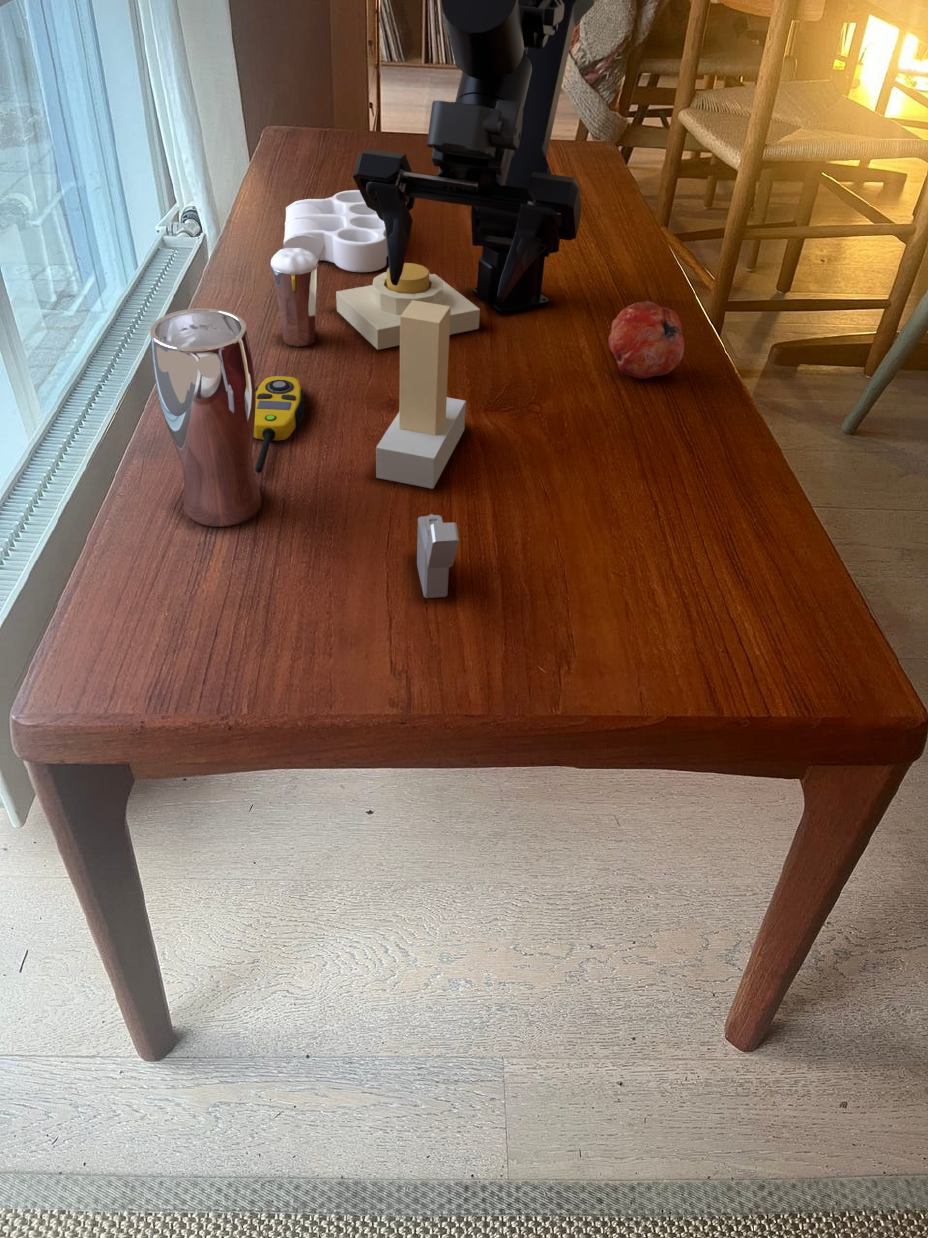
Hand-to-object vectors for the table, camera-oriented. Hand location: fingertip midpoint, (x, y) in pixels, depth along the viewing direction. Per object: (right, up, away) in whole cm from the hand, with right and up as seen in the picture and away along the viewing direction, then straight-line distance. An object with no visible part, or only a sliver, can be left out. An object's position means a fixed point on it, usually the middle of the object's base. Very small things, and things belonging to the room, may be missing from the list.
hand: (446, 291), depth 81 cm
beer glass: (-18, -18, -3) cm, 26 cm away
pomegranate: (+19, -3, +17) cm, 26 cm away
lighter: (-1, -26, -10) cm, 27 cm away
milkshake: (-15, +1, +19) cm, 24 cm away
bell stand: (-5, +5, +23) cm, 24 cm away
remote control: (-15, -11, +5) cm, 20 cm away
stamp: (-2, -13, +4) cm, 14 cm away
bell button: (-4, +7, +21) cm, 23 cm away
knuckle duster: (-13, +19, +38) cm, 45 cm away
